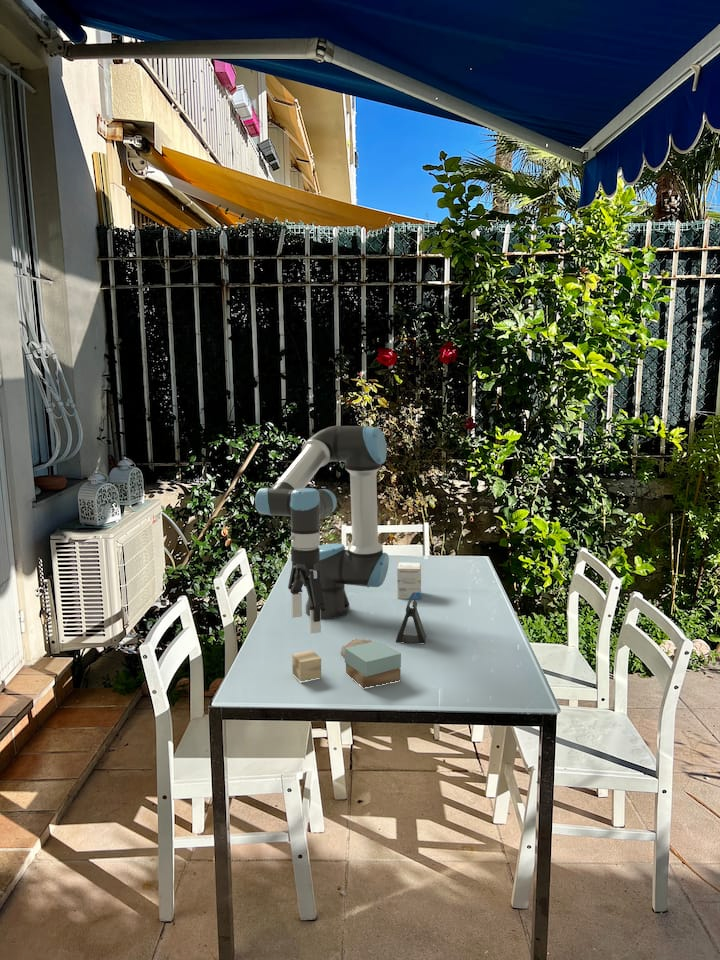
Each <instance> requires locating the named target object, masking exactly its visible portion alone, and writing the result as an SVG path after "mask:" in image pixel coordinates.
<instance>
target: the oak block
mask: <svg viewBox="0 0 720 960" xmlns="http://www.w3.org/2000/svg"><path fill="white" fill-rule="evenodd" d="M291 658H292V662H291V663H292V667H291V668H292V675H293V674H294V675H295V676H296V677H297V678H298V679H299V680H300V681H305V680H311V679H316V678H321V679H322V658H321V656H319V655H318V654H317V653H316V652H315V651H314V650H307V651H301V652H298V653H292V655H291Z"/></svg>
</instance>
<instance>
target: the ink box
mask: <svg viewBox="0 0 720 960" xmlns="http://www.w3.org/2000/svg"><path fill="white" fill-rule="evenodd" d="M396 575H397V578H396V581H397V582H396V583H397V599H398V600H404V599H405V600H421V599H422V597H421V595H422V563H421V562H398V565H397V573H396Z"/></svg>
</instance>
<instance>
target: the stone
mask: <svg viewBox="0 0 720 960" xmlns="http://www.w3.org/2000/svg"><path fill="white" fill-rule="evenodd" d="M370 642H373V640H370V639H365V638H364V639H363V638H362V639H361V638H355V639H352V640H351V641H349V642H348V643H347V644H345V645H343V646H341V650H340V654H341V657H342V656H343V657H342V658H343V659H345V648H348V647H352V646H357V645H361V644H365V643H370Z"/></svg>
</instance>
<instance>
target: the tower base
mask: <svg viewBox="0 0 720 960" xmlns="http://www.w3.org/2000/svg"><path fill="white" fill-rule="evenodd" d="M401 671H402V670H401V668H398V669H394V670H390V671H386V672H382V673H378V674H375V675H371V676H367V677H366V676H365V675H363V674H362V673H360V672H359V671H357V670H356V669H354V668H353V667H351V666H350V665H348V664H347V663H345V674H346V673H347V674H348V675H349V676H350V677H351V678H353V679H354V680H355V681H356V682H357V683H358V684H360V685H361V686H362V687H363V688H365V687H370V686H376V685H382V684H386V683H390V682H395V681H399V680H400V681H401ZM347 674H346V675H347ZM348 675H347V676H348ZM349 676H348V677H349ZM350 677H349V678H350ZM351 678H350V679H351ZM354 680H353V681H354ZM355 681H354V682H355ZM356 682H355V683H356ZM357 683H356V684H357ZM358 684H357V685H358Z"/></svg>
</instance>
